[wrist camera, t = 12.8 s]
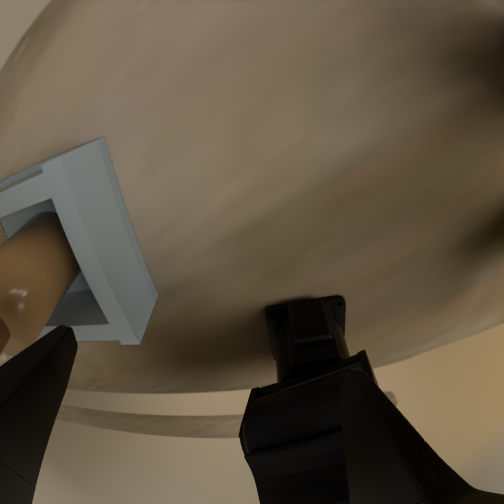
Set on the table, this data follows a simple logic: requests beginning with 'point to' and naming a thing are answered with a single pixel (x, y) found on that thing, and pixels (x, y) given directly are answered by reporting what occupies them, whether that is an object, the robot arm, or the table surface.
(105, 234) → the u rest
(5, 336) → the amber bottle
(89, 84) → the table surface
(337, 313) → the robot arm
